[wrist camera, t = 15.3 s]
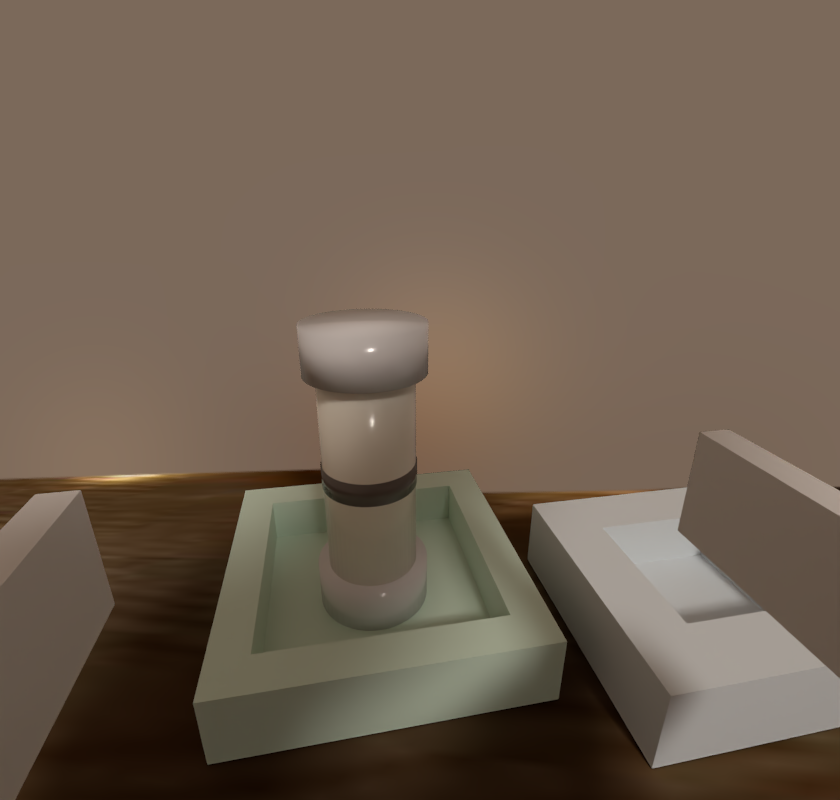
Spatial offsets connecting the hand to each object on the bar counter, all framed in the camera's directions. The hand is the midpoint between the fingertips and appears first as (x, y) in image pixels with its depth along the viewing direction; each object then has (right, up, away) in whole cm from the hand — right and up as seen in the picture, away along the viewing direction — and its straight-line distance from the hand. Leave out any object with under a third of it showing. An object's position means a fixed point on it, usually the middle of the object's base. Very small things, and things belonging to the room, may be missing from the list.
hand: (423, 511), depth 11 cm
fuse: (-2, -7, +13) cm, 15 cm away
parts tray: (-2, -7, +13) cm, 15 cm away
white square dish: (+12, -8, +12) cm, 19 cm away
